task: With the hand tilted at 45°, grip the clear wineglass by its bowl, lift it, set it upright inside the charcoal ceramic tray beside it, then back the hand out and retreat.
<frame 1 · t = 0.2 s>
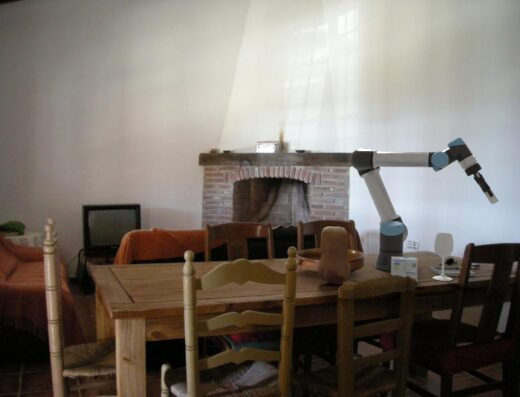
hand: (495, 202, 239), 35 cm above the table, tool tilted 35°, fingers open, 13 cm apart
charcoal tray: (450, 273, 239), on the table
light bulb box: (403, 282, 218), on the table
butternut squash: (333, 284, 210), on the table
wineglass: (442, 279, 225), on the table
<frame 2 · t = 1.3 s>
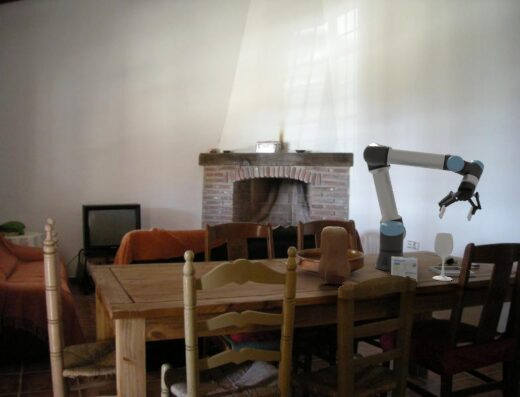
hand: (453, 218, 231), 28 cm above the table, tool tilted 45°, fingers open, 13 cm apart
nothing on the table moved.
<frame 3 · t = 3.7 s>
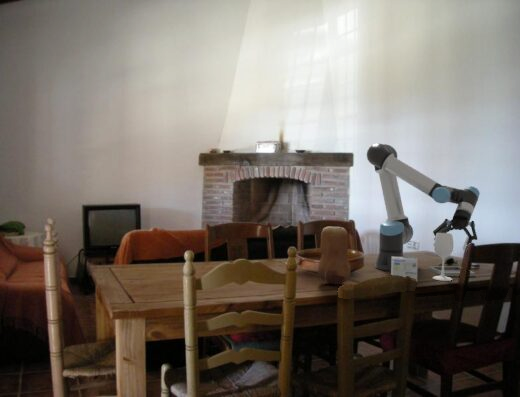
hand: (449, 248, 225), 14 cm above the table, tool tilted 45°, fingers open, 13 cm apart
nothing on the table moved.
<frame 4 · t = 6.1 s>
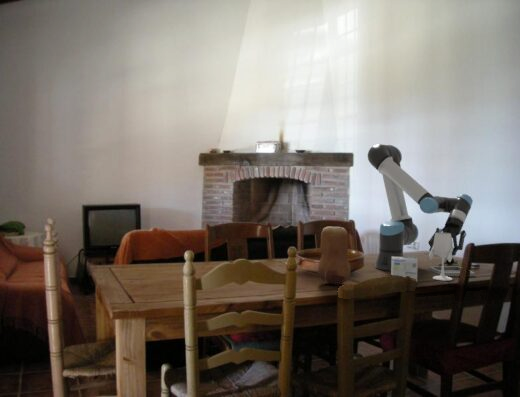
hand: (439, 258, 222), 10 cm above the table, tool tilted 45°, fingers closed on wineglass, 8 cm apart
wineglass: (442, 279, 225), on the table, touching gripper
everything else where it was.
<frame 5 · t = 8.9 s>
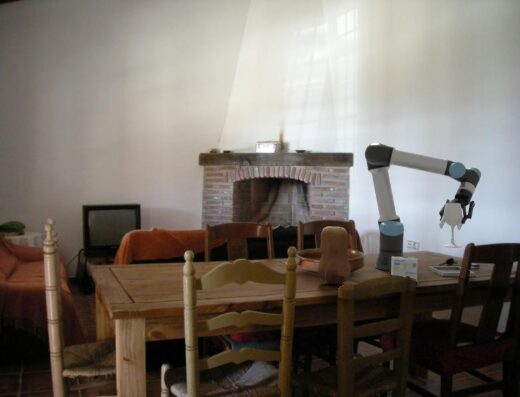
hand: (449, 227, 235), 23 cm above the table, tool tilted 45°, fingers closed on wineglass, 8 cm apart
wineglass: (452, 247, 237), point 13 cm above the table, touching gripper
everything else where it was.
when the fingers open (12 cm above the table, at t = 11.9 s): wineglass drops 1 cm, resting on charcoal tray.
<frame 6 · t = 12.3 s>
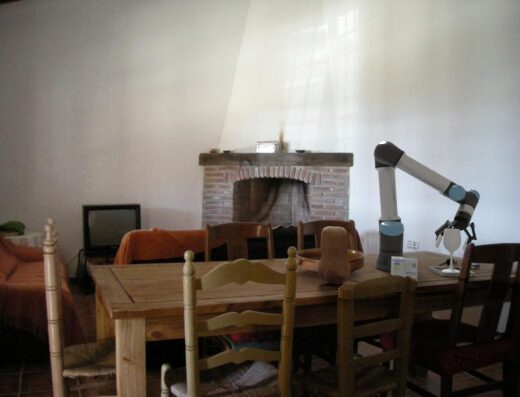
hand: (449, 247, 236), 13 cm above the table, tool tilted 45°, fingers open, 13 cm apart
wineglass: (451, 272, 239), resting on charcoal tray
everything else where it was.
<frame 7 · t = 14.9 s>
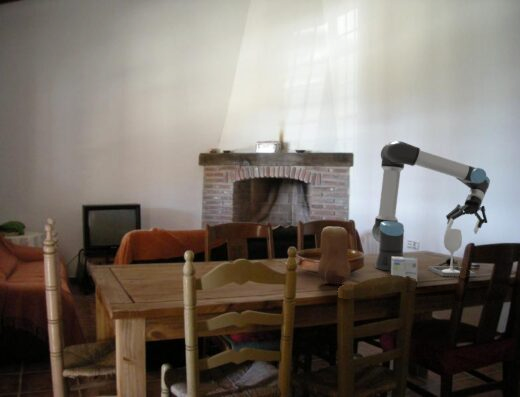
hand: (461, 230, 244), 20 cm above the table, tool tilted 45°, fingers open, 13 cm apart
nothing on the table moved.
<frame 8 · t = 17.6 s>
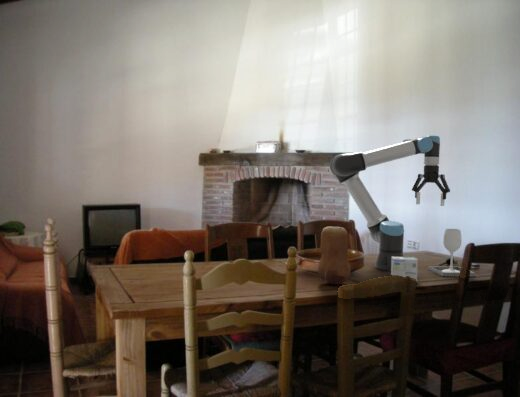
hand: (429, 205, 261), 32 cm above the table, tool pointing down, fingers open, 13 cm apart
nothing on the table moved.
at the end: wineglass inside the target area on the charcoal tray (0.2 cm from its centre), point 0.2 cm above the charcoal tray's base; wineglass tilted 0°; the gripper is holding nothing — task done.
